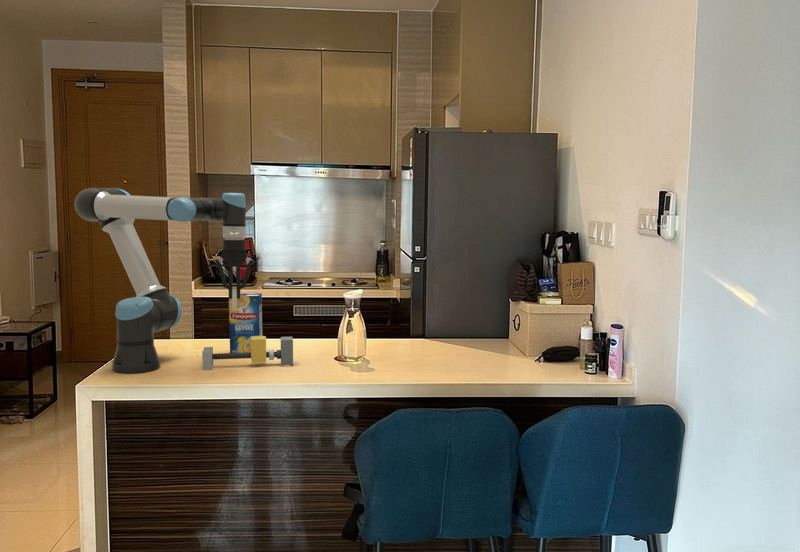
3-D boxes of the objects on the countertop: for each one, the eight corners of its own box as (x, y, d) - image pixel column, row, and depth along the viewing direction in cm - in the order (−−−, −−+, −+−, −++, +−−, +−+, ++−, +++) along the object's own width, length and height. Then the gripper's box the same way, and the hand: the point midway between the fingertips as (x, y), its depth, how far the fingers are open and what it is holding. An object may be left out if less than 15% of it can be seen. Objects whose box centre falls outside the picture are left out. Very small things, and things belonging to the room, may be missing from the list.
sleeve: (251, 362, 248) (250, 339, 247) (251, 359, 254) (251, 336, 253) (266, 362, 249) (265, 339, 248) (266, 358, 255) (265, 336, 254)
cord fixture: (202, 369, 244) (202, 343, 243) (204, 364, 252) (203, 338, 251) (293, 366, 250) (293, 340, 249) (292, 361, 258) (292, 336, 257)
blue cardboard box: (260, 355, 267) (259, 295, 265) (229, 355, 267) (228, 295, 264) (262, 351, 274) (261, 293, 272) (233, 351, 273) (232, 293, 271)
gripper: (213, 239, 241) (214, 310, 243) (254, 239, 243) (254, 309, 246) (215, 238, 248) (215, 306, 251) (254, 238, 251) (254, 306, 253)
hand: (234, 308), depth 248 cm, fingers closed
